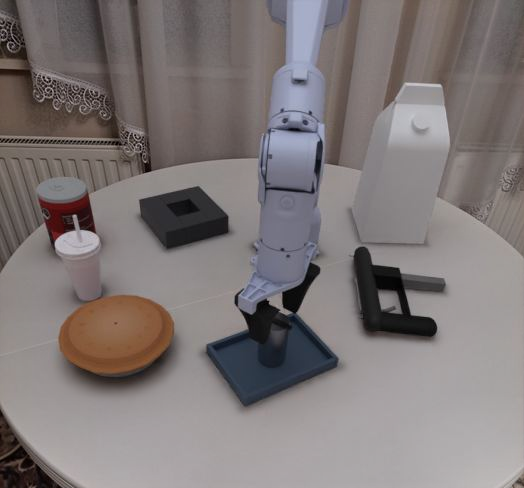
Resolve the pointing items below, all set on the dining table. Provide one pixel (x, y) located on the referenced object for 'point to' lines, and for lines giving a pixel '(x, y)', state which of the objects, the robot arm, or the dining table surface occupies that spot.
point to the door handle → (393, 279)
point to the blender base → (183, 216)
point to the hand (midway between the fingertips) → (275, 324)
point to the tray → (270, 378)
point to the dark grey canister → (275, 342)
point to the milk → (403, 167)
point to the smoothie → (81, 261)
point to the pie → (116, 335)
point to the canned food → (65, 206)
